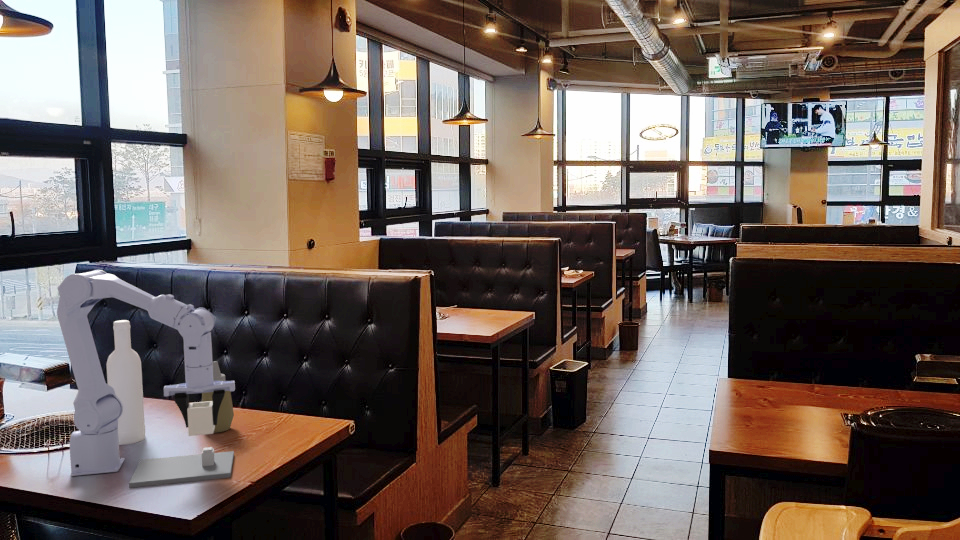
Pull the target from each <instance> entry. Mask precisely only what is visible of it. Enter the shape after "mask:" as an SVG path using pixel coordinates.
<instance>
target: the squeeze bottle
mask: <svg viewBox="0 0 960 540" xmlns="http://www.w3.org/2000/svg"><path fill="white" fill-rule="evenodd" d="M212 362H213V381H226V375H225V374H224V373H221V370H220V365H219V362H218V360H215V361H212ZM231 393H232V391H225V395H224V398H223V400H222V402H221V405H220V408H219V412H218V419H217V425H215V429H214V432H213V434H214V433H222V432H227V431H228V430H230V429H231V426H232V422H233V419H234V416H235V415H234V414H235V413H234V406H233V400H232V399H233V398H232V394H231ZM212 394H213V392H207V393H201V402H206V401H212Z"/></svg>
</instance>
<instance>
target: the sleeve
mask: <svg viewBox="0 0 960 540" xmlns="http://www.w3.org/2000/svg"><path fill="white" fill-rule="evenodd" d="M187 413H188V427H187V430H188V437H192V436H193V437H194V436H200V435H201V436H202V435H213V434H214V433H213V432H214V429H215V425H213V401H206V402H202V401H199V402H198V401H197V402H196V401H194V402H189V406H188V408H187Z"/></svg>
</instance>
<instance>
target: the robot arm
mask: <svg viewBox="0 0 960 540" xmlns="http://www.w3.org/2000/svg"><path fill="white" fill-rule="evenodd" d="M57 290H58V294H59V299H58V304H57V310H56V314H57V315H56V316H57V319H58V323H59V325H60V329H61V330H60V331H61V334H62V337H63V340H64V343H65V347H66V351H67V355H68V359H69V362H70V365H71V369H72V372H73V376H74V379H75V383H76V386H77V389H78V390H77V394H76V396H75V398H74V400H73V408H74V413H73V423H74V426H75V428H77V430H75V431H72V432H71V435H70V439H69V455H70V458H69V459H70V472H71V473H70V476H71V477H75V476H77V477H78V476H85V475H87V476H88V475H95V474H105V473H117V472H119V471H120V469H121V467H122V465H123V463H124V462H125V460H126V459H125V457H121V456H120V445H119V437H118V418H119V417H120V416H121V415H122V412H123V405H122V402H121V401H120V399H119V398H118V397H117V396H116V394H115V392H114V389H113V388H112V387H111V386H109V385H108V383H106V380H105V375H104V373H103V368H102V366H101V361H100V359H99V358H100V357H99V354H98V351H97V347H96V344H95V340H94V337H93V333H92V329H91V326H90V322H89V319H88V314H89V313H90V312H91V310H92V309H93V308H94V306H95V305H96V304H97V303H99V302H100V301H101V300H103V299H107V298H109V299H110V298H114V299H116V300H120V301H122V302H125V303H127V304H130V305H132V306H135V307H137V308H140V309H143V310H145V311H147V313H148V316H149V318H150V319H152V320H154V321H157V322H159V323H161V324H163V325H166V326H168V327H170V328H172V329H175V330H177V331H178V333H179V334H180V336H181V337H182V339H183V355H184V357H183V358H184V375H185V382H183V383H178V384H171V385H170V384H169V385H164V386H163V397H170V396H174V402H175V404H176V406H177V408H178V409H179V411H180V413H181V414H182V418H183V420H184V424H185V427H186V428H187V429H188V413H187V408H188V406H189V404H190V394H191V395H192V394H193V395H194V394H202V393H207V392H213V394H212V401H213V425H217V419H218V412H219V408H220V405H221V402H222V400H223V398H224V395H225V391H230V392H235V390H236V384H235V383H236V382H235V380H225V381H213V362H214V361H213V347H212V344H213V343H212V330H213V328H214V327H215V323H216V321H215V317H214V315H213V313H212V312H211V311H209V310H208V309H207V308H205V307H198V308H195V306H194V305H193V304H191V303H189V304H186V303H184V302H182V301H179V300H177V299H175V295H173V294H170V293H169V294H160V295H158V296H154V295H152V294H151V293H148V292H147V291H144V290H142V289H141V288H139V287H136V286H135V285H133V284H130V282H129V283H128V282H126V281H125V280H122V279H121V278H119V277H118V276H116V275H115V274H112V273H107V272H106V271H104V270H102V269H93V270H91V271H86V272H82V273H81V272H80V273H72V274H69V275H67V276H66V277H65V278H64V279H63V280H62V282H61V283H60V284H59V286H58V287H57Z"/></svg>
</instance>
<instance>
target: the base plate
mask: <svg viewBox="0 0 960 540" xmlns="http://www.w3.org/2000/svg"><path fill="white" fill-rule="evenodd" d="M234 458H235V451H234V450H232V451H222V452H221V451H220V452H215V448H213V446H210V447H209V446H208V447H203V449H202V451H201V453H200V454H188V455H180V456H179V455H178V456H168V457H167V456H166V457H160V458H156V457H155V458H148V459H140V461H139V463H138V464H137V466H136V469H135V471H134V473H133V474H132V476H131V479H130V481H129V482H128V488H129V489H130V488H140V487H150V486H158V485H159V486H161V485H170V484H178V483H180V484H181V483H188V482H189V483H190V482H197V481H198V482H199V481H200V482H201V481H209V480H217V479H218V480H219V479H225V478H226V479H227V478H229V479H230V478H231V475H232V470H233V464H234V463H233V462H234Z"/></svg>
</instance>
